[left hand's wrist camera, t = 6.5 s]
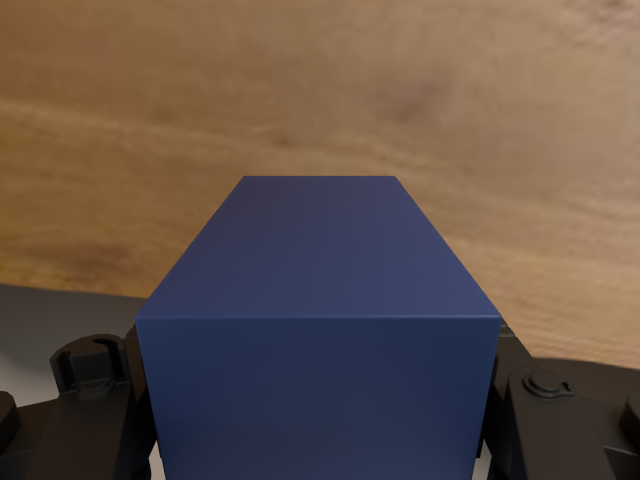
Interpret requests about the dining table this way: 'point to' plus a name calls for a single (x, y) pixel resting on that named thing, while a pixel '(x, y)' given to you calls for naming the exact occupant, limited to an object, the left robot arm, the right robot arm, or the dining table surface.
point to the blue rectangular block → (318, 340)
